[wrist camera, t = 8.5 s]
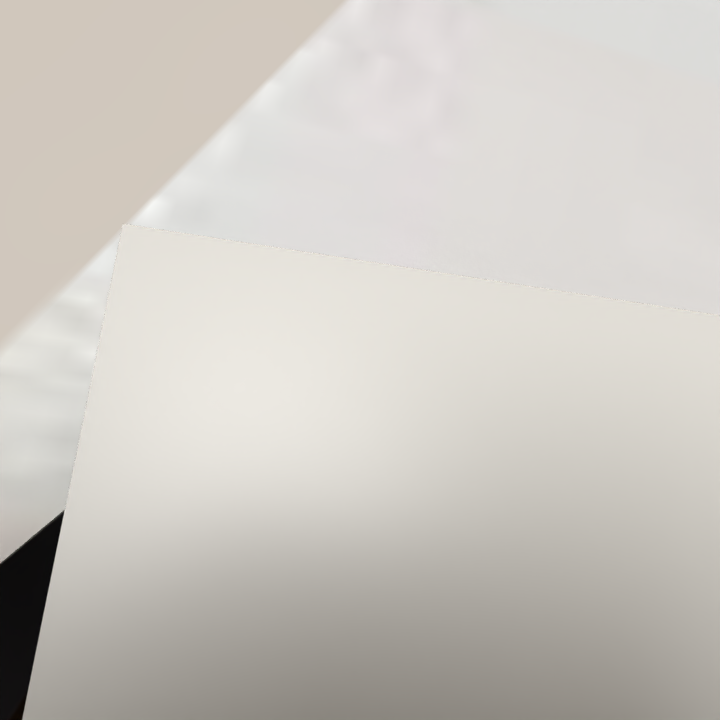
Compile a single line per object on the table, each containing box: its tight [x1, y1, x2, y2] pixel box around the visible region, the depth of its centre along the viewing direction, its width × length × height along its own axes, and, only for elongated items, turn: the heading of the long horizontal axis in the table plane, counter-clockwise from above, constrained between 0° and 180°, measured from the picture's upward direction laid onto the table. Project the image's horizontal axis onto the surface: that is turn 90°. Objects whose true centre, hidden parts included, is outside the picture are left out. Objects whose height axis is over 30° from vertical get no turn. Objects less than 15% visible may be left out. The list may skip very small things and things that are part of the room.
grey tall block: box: [22, 224, 720, 720], centre depth 10 cm, size 5×5×12 cm
